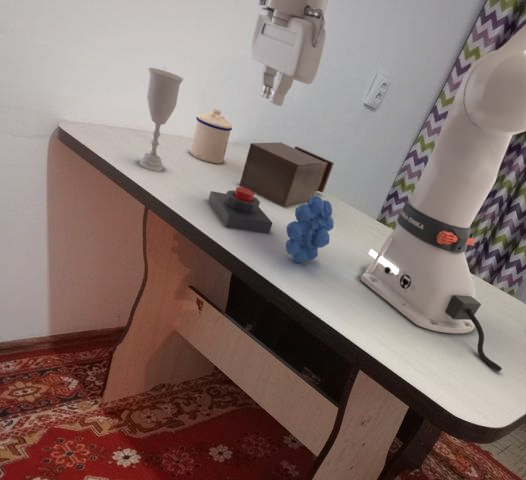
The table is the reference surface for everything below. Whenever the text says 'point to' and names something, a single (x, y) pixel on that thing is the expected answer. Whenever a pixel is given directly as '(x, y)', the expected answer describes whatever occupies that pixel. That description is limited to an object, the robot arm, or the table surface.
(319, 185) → the drawer
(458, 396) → the table surface
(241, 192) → the button
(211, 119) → the lidded canister
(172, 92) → the chalice
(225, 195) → the control block
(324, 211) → the grapes
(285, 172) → the cabinet
